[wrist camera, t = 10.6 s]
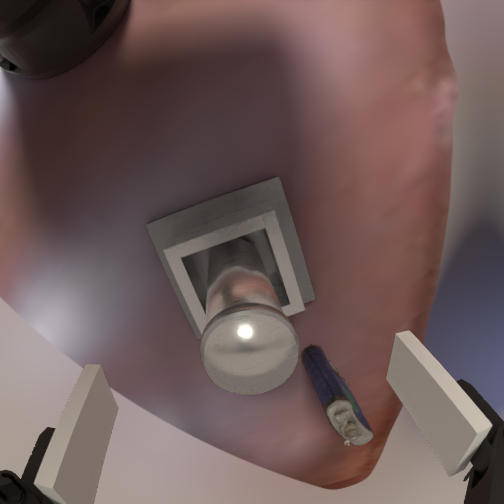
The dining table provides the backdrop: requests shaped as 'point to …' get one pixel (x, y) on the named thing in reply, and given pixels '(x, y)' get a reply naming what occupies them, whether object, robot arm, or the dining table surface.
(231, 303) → the silver canister
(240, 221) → the duct collar
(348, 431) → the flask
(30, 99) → the dining table surface
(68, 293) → the dining table surface
